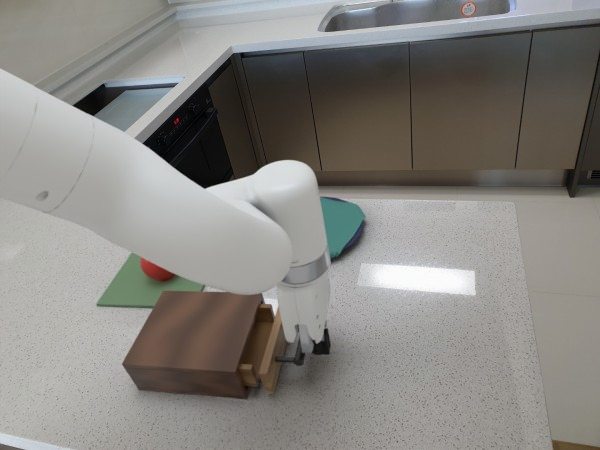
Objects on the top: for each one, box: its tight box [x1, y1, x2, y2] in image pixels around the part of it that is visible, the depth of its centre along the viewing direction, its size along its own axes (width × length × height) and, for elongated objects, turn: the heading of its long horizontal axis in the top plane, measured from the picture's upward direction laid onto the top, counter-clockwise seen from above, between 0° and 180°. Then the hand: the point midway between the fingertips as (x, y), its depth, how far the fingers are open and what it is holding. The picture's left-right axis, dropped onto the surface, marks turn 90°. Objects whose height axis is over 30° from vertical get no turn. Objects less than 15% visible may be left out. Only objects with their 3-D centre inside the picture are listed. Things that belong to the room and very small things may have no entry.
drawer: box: [238, 303, 307, 395], centre depth 70 cm, size 21×13×5 cm, turn 79°
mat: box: [95, 252, 206, 309], centre depth 92 cm, size 20×20×1 cm
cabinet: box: [121, 290, 266, 400], centre depth 72 cm, size 18×15×7 cm
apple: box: [140, 257, 175, 282], centre depth 88 cm, size 7×7×8 cm
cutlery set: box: [320, 196, 367, 259], centre depth 95 cm, size 20×30×2 cm, turn 59°
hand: (319, 349), depth 68 cm, fingers closed
